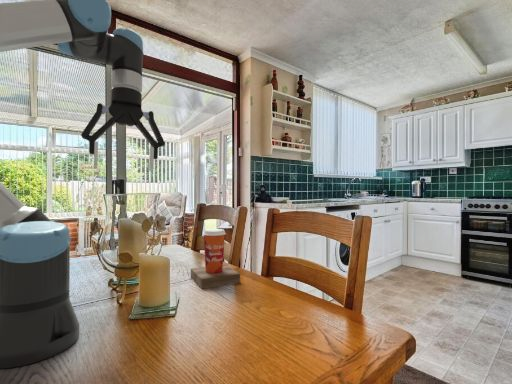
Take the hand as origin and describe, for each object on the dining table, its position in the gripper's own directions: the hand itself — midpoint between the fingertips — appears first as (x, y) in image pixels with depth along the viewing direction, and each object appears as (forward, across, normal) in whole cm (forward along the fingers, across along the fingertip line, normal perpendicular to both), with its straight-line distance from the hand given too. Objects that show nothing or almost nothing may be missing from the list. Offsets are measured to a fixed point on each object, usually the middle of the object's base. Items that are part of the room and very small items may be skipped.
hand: (124, 169), depth 77 cm
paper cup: (+32, -29, -7) cm, 44 cm away
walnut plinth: (+35, -29, -7) cm, 46 cm away
